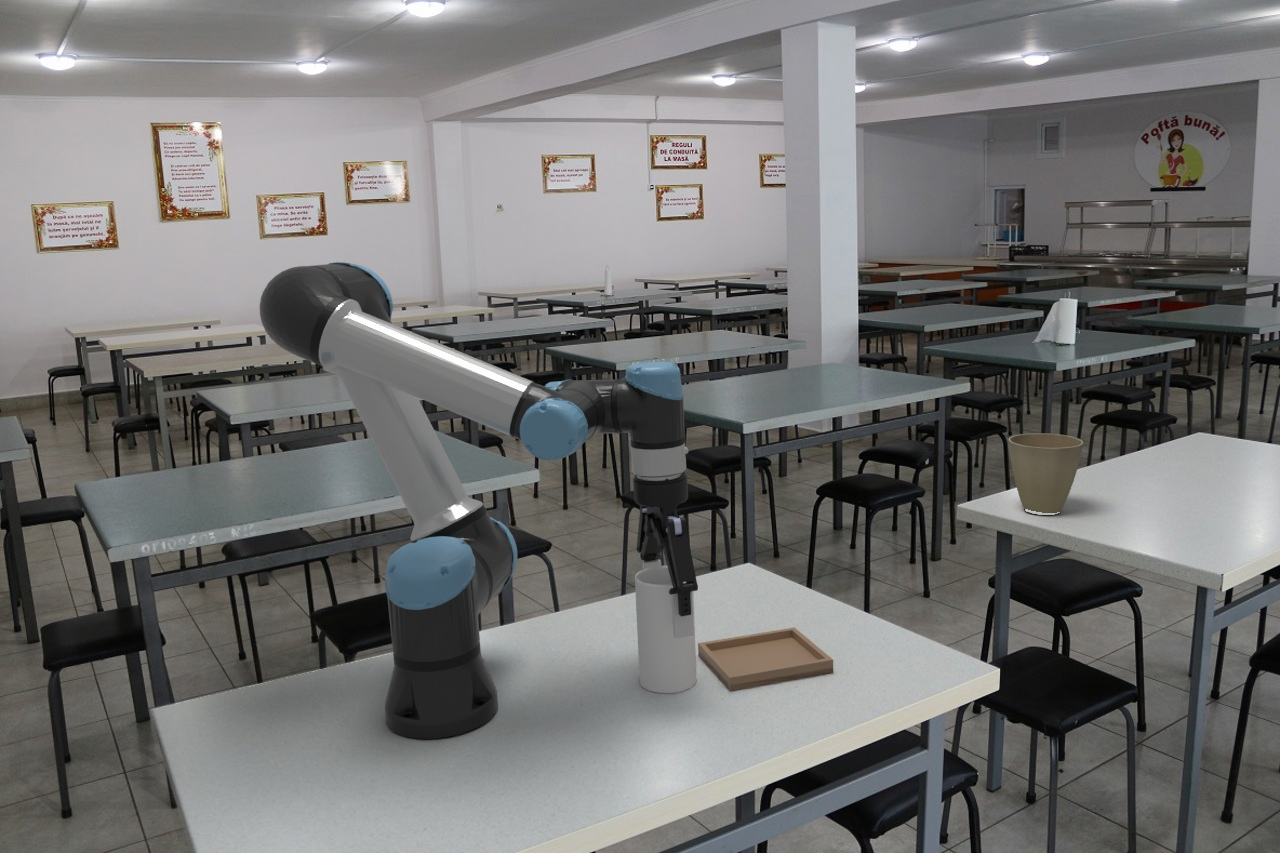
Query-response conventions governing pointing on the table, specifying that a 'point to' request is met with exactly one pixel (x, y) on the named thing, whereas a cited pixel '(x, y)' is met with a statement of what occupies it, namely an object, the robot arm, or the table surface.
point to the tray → (764, 658)
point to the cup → (661, 636)
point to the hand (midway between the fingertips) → (668, 619)
